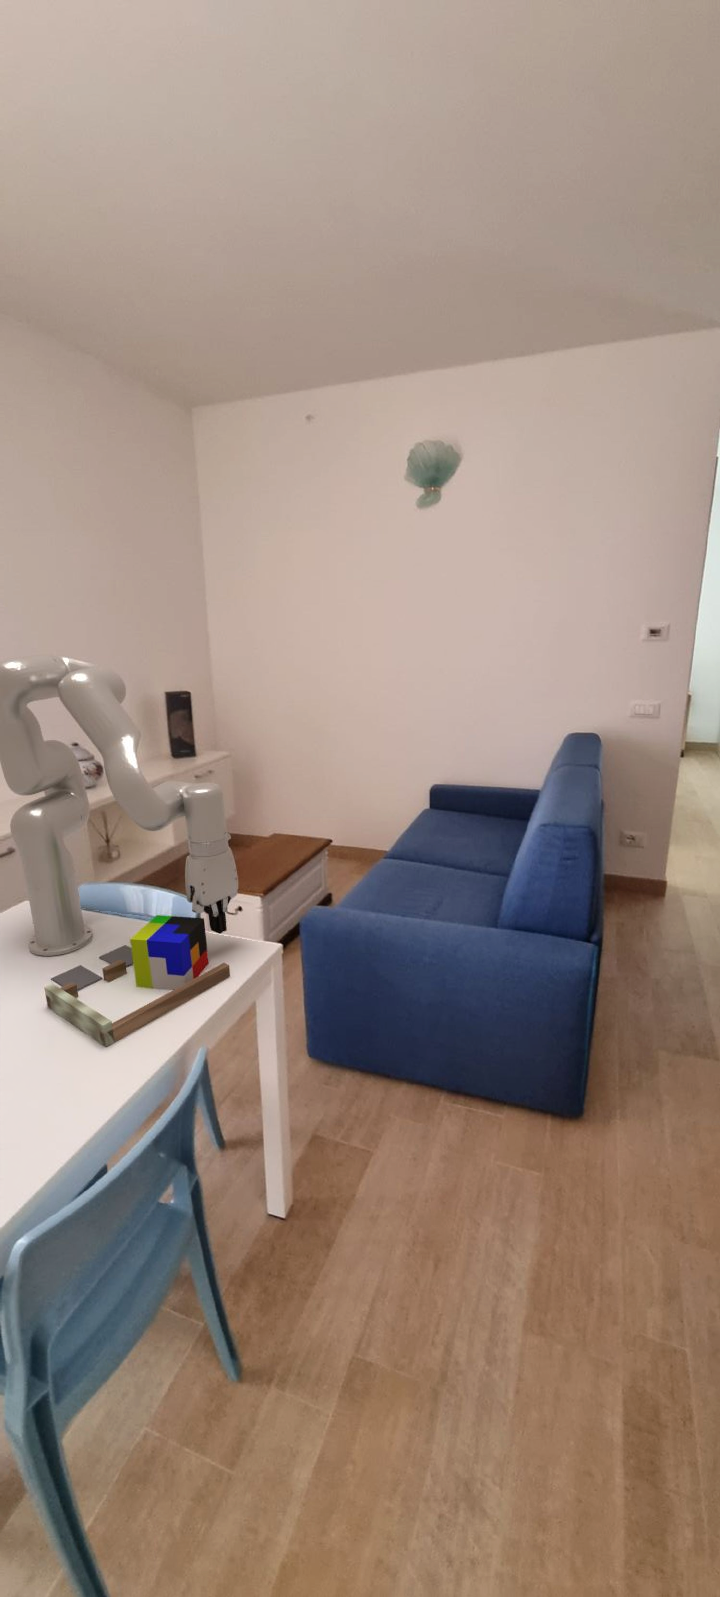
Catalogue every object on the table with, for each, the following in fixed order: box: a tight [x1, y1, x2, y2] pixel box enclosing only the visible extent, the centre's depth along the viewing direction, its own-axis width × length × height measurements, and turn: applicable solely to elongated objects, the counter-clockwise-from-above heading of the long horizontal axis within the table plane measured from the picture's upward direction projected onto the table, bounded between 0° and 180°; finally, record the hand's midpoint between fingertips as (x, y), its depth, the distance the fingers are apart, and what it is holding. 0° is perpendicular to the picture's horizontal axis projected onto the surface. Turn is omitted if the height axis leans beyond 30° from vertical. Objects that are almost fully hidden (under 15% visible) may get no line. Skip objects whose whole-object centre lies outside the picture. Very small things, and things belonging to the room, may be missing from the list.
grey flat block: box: [50, 964, 104, 991], centre depth 124 cm, size 8×6×1 cm
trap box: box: [43, 960, 231, 1048], centre depth 119 cm, size 19×26×4 cm
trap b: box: [98, 944, 134, 969], centre depth 131 cm, size 8×6×1 cm
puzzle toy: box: [129, 914, 209, 991], centre depth 123 cm, size 10×10×10 cm
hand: (218, 930), depth 131 cm, fingers closed
